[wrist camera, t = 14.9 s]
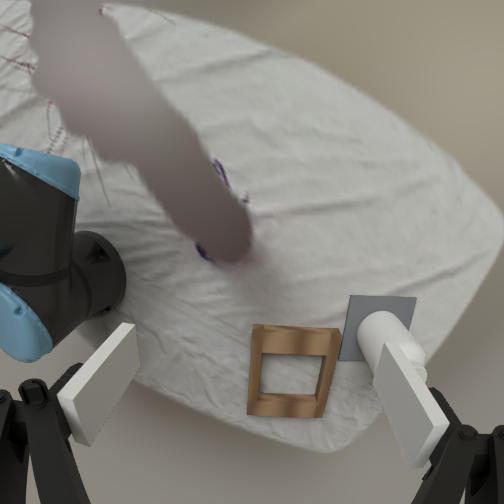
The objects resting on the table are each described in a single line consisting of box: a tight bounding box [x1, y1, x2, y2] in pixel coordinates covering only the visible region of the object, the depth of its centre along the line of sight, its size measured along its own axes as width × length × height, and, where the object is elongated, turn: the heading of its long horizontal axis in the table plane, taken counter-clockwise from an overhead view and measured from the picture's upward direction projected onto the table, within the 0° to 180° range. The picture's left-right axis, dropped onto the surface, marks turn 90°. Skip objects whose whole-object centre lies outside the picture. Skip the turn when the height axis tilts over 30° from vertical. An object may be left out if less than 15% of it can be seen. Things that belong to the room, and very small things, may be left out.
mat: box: [338, 295, 417, 361], centre depth 48 cm, size 12×12×1 cm
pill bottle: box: [357, 311, 427, 383], centre depth 41 cm, size 8×8×15 cm
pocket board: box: [247, 324, 341, 418], centre depth 50 cm, size 14×18×2 cm
